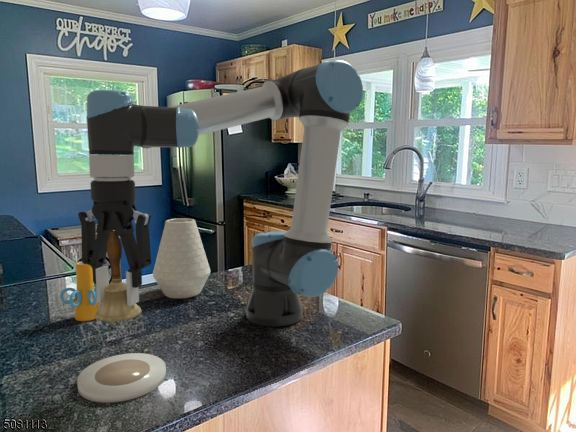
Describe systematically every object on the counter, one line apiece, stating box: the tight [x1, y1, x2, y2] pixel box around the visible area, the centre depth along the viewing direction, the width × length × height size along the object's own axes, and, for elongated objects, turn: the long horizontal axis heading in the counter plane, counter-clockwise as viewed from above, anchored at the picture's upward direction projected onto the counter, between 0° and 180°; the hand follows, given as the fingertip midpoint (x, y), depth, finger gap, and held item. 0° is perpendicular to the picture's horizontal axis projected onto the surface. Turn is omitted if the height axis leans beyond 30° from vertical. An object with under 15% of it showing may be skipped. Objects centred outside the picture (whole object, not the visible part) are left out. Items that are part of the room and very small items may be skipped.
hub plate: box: [76, 352, 167, 404], centre depth 85 cm, size 16×16×2 cm
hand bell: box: [95, 230, 142, 323], centre depth 82 cm, size 8×8×16 cm
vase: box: [152, 217, 212, 300], centre depth 135 cm, size 18×17×23 cm
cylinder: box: [59, 260, 100, 322], centre depth 115 cm, size 12×10×15 cm
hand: (118, 301), depth 82 cm, fingers closed on hand bell, 6 cm apart
